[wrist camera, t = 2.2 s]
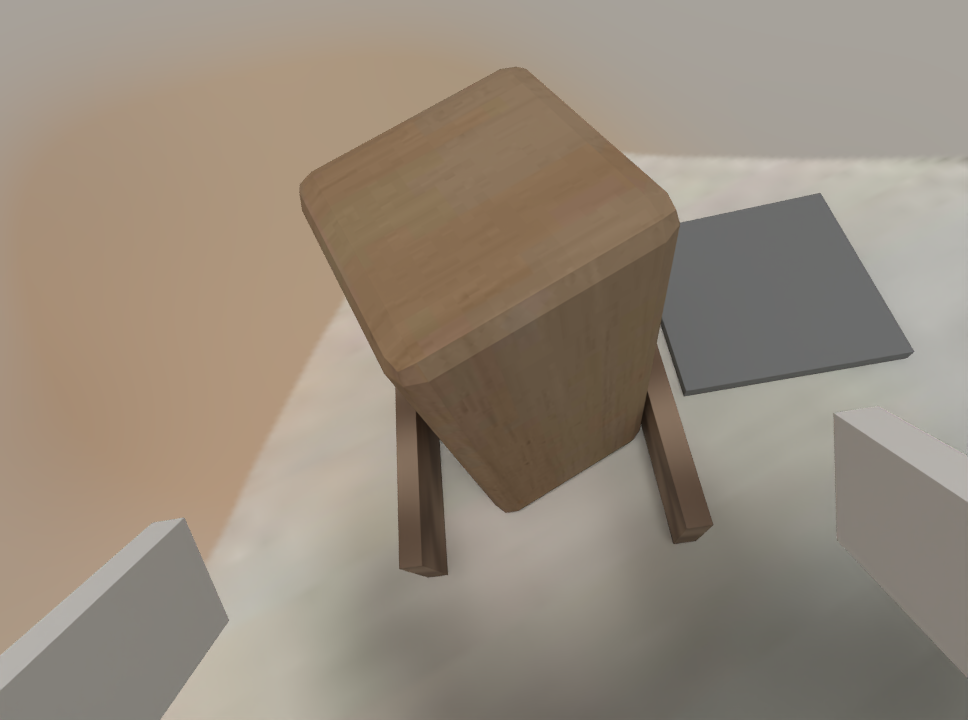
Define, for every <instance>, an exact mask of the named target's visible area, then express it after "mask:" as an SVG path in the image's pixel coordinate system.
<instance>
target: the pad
mask: <svg viewBox="0 0 968 720" xmlns="http://www.w3.org/2000/svg"><path fill="white" fill-rule="evenodd" d="M661 326H662V329H663V332H664V335H665V338H666V341H667V344H668V347H669V351H670V354H671V357H672V360H673V363H674V366H675V369H676V372H677V375H678V378H679V382H680V385H681V388H682V391H683V394H684V396H688V395H694V394H700V393H706V392H712V391H717V390H723V389H729V388H735V387H741V386H747V385H752V384H758V383H764V382H770V381H776V380H781V379H787V378H793V377H799V376H805V375H811V374H816V373H822V372H828V371H834V370H840V369H846V368H851V367H857V366H863V365H869V364H875V363H881V362H886V361H892V360H898V359H904V358H908V357H909V356H910V355H911V354H912V353H913V352H914V350H913V349H912V347H911V345H910V344H909V342H908V340H907V339H906V337H905V335H904V333H903V332H902V330H901V328H900V327H899V325H898V323H897V322H896V320H895V318H894V317H893V315H892V313H891V311H890V310H889V308H888V306H887V305H886V303H885V301H884V300H883V298H882V296H881V295H880V293H879V291H878V289H877V288H876V286H875V284H874V283H873V281H872V279H871V278H870V276H869V274H868V273H867V271H866V269H865V267H864V266H863V264H862V262H861V261H860V259H859V257H858V256H857V254H856V252H855V251H854V249H853V247H852V245H851V244H850V242H849V240H848V239H847V237H846V235H845V234H844V232H843V230H842V229H841V227H840V225H839V223H838V222H837V220H836V218H835V217H834V215H833V213H832V212H831V210H830V208H829V207H828V205H827V203H826V202H825V200H824V198H823V196H822V195H821V193H818V194H813V195H809V196H804V197H799V198H795V199H790V200H785V201H780V202H776V203H771V204H766V205H762V206H757V207H752V208H748V209H743V210H738V211H734V212H729V213H724V214H719V215H715V216H710V217H705V218H701V219H696V220H691V221H687V222H682V223H680V227H679V232H678V237H677V242H676V248H675V253H674V258H673V263H672V268H671V273H670V278H669V283H668V288H667V293H666V298H665V303H664V308H663V313H662V319H661Z"/></svg>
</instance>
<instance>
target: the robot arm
mask: <svg viewBox="0 0 968 720" xmlns="http://www.w3.org/2000/svg"><path fill="white" fill-rule="evenodd" d="M833 416H834V454H835V493H836V532H837V541H838V542H839V543H840V544H841V545H842V546H843V547H844V548H845V549H846V550H847V551H848V552H849V553H850V555H851V556H852V557H853V558H854V559H855V560H856V561H857V562H858V563H859V564H860V565H861V566H862V567H863V568H864V569H865V570H866V571H867V573H868V574H869V575H870V576H871V577H872V578H873V579H874V580H875V581H876V582H877V583H878V584H879V585H880V586H881V587H882V588H883V589H884V590H885V592H886V593H887V594H888V595H889V596H890V597H891V598H892V599H893V600H894V601H895V602H896V603H897V604H898V605H899V606H900V607H901V608H902V610H903V611H904V612H905V613H906V614H907V615H908V616H909V617H910V618H911V619H912V620H913V621H914V622H915V623H916V624H917V625H918V626H919V627H920V629H921V630H922V631H923V632H924V633H925V634H926V635H927V636H928V637H929V638H930V639H931V640H932V641H933V642H934V643H935V644H936V645H937V647H938V648H939V649H940V650H941V651H942V652H943V653H944V654H945V655H946V656H947V657H948V658H949V659H950V660H951V661H952V662H953V663H954V664H955V666H956V667H957V668H958V669H959V670H960V671H961V672H962V673H963V674H964V675H965V676H966V677H967V678H968V456H967V455H965V454H963V453H962V452H960V451H958V450H956V449H955V448H953V447H951V446H949V445H947V444H946V443H944V442H942V441H940V440H939V439H937V438H935V437H933V436H931V435H930V434H928V433H926V432H924V431H923V430H921V429H919V428H917V427H915V426H914V425H912V424H910V423H908V422H906V421H905V420H903V419H901V418H899V417H898V416H896V415H894V414H892V413H890V412H889V411H887V410H885V409H883V408H882V407H880V406H873V407H867V408H861V409H855V410H848V411H842V412H836V413H833ZM228 621H229V619H228V617H227V614H226V612H225V610H224V607H223V605H222V603H221V601H220V598H219V596H218V594H217V591H216V589H215V587H214V584H213V582H212V580H211V578H210V575H209V573H208V571H207V568H206V566H205V564H204V561H203V559H202V557H201V555H200V552H199V550H198V548H197V546H196V543H195V541H194V539H193V536H192V534H191V532H190V529H189V527H188V525H187V522H186V520H185V518H179V519H173V520H166V521H160V522H154V523H152V524H150V525H149V526H148V527H147V528H146V529H145V530H143V531H142V532H141V533H140V534H139V535H138V536H137V537H135V538H134V539H133V540H132V541H131V542H130V543H129V544H127V545H126V546H125V547H124V548H123V549H122V550H121V551H119V552H118V553H117V554H116V555H115V556H114V557H112V558H111V559H110V560H109V561H108V562H107V563H106V564H104V565H103V566H102V567H101V568H100V569H99V570H98V571H96V573H94V574H93V575H92V576H91V577H90V578H89V579H87V580H86V581H85V582H84V583H83V584H82V585H80V586H79V587H78V588H77V589H76V590H75V591H73V592H72V593H71V594H70V595H69V596H68V597H67V598H65V599H64V600H63V601H62V602H61V603H60V604H59V605H57V606H56V607H55V608H54V609H53V610H52V611H51V612H49V613H48V614H47V615H46V616H45V617H44V618H43V619H41V620H40V621H39V622H38V623H37V624H36V625H34V626H33V627H32V628H31V629H30V630H29V631H28V632H26V633H25V634H24V635H23V636H22V637H21V638H20V639H18V640H17V641H16V642H15V643H14V644H13V645H11V647H9V648H8V649H7V650H6V651H5V652H4V653H2V654H1V655H0V720H160V719H161V718H162V716H163V715H164V713H165V712H166V711H167V709H168V708H169V706H170V705H171V703H172V702H173V701H174V699H175V698H176V696H177V695H178V693H179V692H180V690H181V689H182V688H183V686H184V685H185V683H186V682H187V680H188V679H189V677H190V676H191V675H192V673H193V672H194V670H195V669H196V667H197V666H198V665H199V663H200V662H201V660H202V659H203V657H204V656H205V654H206V653H207V652H208V650H209V649H210V647H211V646H212V644H213V643H214V641H215V640H216V639H217V637H218V636H219V634H220V633H221V631H222V630H223V629H224V627H225V626H226V624H227V623H228Z"/></svg>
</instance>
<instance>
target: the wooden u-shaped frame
mask: <svg viewBox="0 0 968 720" xmlns="http://www.w3.org/2000/svg"><path fill="white" fill-rule="evenodd" d="M395 391H396V438H397V484H398V530H399V569H401V570H405V571H408V572H412V573H415V574H418V575H422V576H425V577H435V576H442V575H448V569H447V554H446V538H445V522H444V507H443V491H442V476H441V460H440V445H439V438H438V436H437V435H436V434H435V433H434V432H433V430H432V429H431V428H430V427H429V426H428V425H427V423H426V422H425V421H424V420H423V419H422V417H421V416H420V415H419V414H418V413H417V412H416V410H415V409H414V408H413V407H412V406H411V404H410V403H409V402H408V401H407V400H406V399H405V397H404V396H403V395H402V394H401V393H400V391H399V390H398V389H397V388H396V387H395ZM641 425H642V429H643V432H644V436H645V440H646V443H647V447H648V451H649V454H650V458H651V462H652V466H653V469H654V473H655V477H656V480H657V484H658V488H659V491H660V495H661V499H662V503H663V506H664V510H665V514H666V517H667V521H668V525H669V528H670V532H671V536H672V540H673V543H674V544H677V543H684V542H691V541H696V540H697V539H698V538H700V537H701V536H702V535H703V534H704V533H705V532H706V531H707V530H708V529H709V528H711V527H712V526H713V522H712V519H711V516H710V513H709V510H708V506H707V503H706V500H705V497H704V494H703V490H702V487H701V484H700V481H699V478H698V474H697V471H696V468H695V465H694V462H693V458H692V455H691V452H690V449H689V445H688V442H687V439H686V436H685V433H684V429H683V426H682V423H681V420H680V417H679V413H678V410H677V407H676V404H675V401H674V397H673V394H672V391H671V388H670V385H669V381H668V378H667V375H666V372H665V368H664V365H663V362H662V359H661V356H660V352H659V349H658V346H657V344H656V349H655V354H654V359H653V364H652V369H651V374H650V379H649V384H648V390H647V395H646V400H645V405H644V410H643V415H642V420H641Z"/></svg>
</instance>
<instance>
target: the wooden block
mask: <svg viewBox="0 0 968 720" xmlns="http://www.w3.org/2000/svg"><path fill="white" fill-rule="evenodd" d="M299 193H300V199H301V205H302V211H303V213H304V215H305V217H306V219H307V221H308V223H309V225H310V227H311V229H312V231H313V233H314V235H315V237H316V239H317V241H318V243H319V245H320V247H321V249H322V251H323V253H324V255H325V257H326V259H327V261H328V263H329V265H330V267H331V269H332V270H333V273H334V275H335V277H336V279H337V281H338V283H339V285H340V287H341V289H342V291H343V293H344V295H345V297H346V299H347V301H348V303H349V305H350V307H351V309H352V311H353V312H354V314H355V316H356V318H357V320H358V322H359V324H360V326H361V328H362V330H363V332H364V334H365V336H366V338H367V340H368V342H369V344H370V346H371V348H372V350H373V352H374V354H375V356H376V358H377V360H378V362H379V364H380V366H381V368H382V370H383V372H384V374H385V375H386V376H387V377H388V379H389V380H390V381H391V382H392V383H393V384H394V386H395V387H396V388H397V389H398V390H399V391H400V393H401V394H402V395H403V396H404V397H405V399H406V400H407V401H408V402H409V403H410V404H411V406H412V407H413V408H414V409H415V410H416V412H417V413H418V414H419V415H420V416H421V417H422V419H423V420H424V421H425V422H426V423H427V425H428V426H429V427H430V428H431V429H432V430H433V432H434V433H435V434H436V435H437V436H438V438H439V439H440V440H441V441H442V442H443V443H444V445H445V446H446V447H447V448H448V449H449V450H450V452H451V453H452V454H453V455H454V456H455V458H456V459H457V460H458V461H459V462H460V463H461V465H462V466H463V467H464V468H465V469H466V471H467V472H468V473H469V474H470V475H471V476H472V478H473V479H474V480H475V481H476V482H477V484H478V485H479V486H480V487H481V488H482V489H483V491H484V492H485V493H486V494H487V495H488V497H489V498H490V499H491V500H492V501H493V502H494V504H495V505H496V506H498V507H499V508H500V509H502V510H503V511H504V512H505V513H506V512H512V511H518V510H520V509H522V508H523V507H525V506H527V505H528V504H530V503H531V502H533V501H535V500H536V499H538V498H540V497H541V496H543V495H544V494H546V493H548V492H549V491H551V490H553V489H554V488H556V487H557V486H559V485H561V484H562V483H564V482H565V481H567V480H569V479H570V478H572V477H574V476H575V475H577V474H578V473H580V472H582V471H583V470H585V469H587V468H588V467H590V466H591V465H593V464H595V463H596V462H598V461H600V460H601V459H603V458H604V457H606V456H608V455H609V454H611V453H612V452H614V451H616V450H617V449H619V448H621V447H622V446H624V445H625V444H627V443H629V442H630V441H632V440H633V439H634V437H635V436H636V434H637V433H638V432H639V430H640V425H641V420H642V415H643V410H644V405H645V400H646V395H647V390H648V384H649V379H650V374H651V369H652V364H653V359H654V354H655V349H656V344H657V339H658V334H659V329H660V324H661V319H662V313H663V308H664V303H665V298H666V293H667V288H668V283H669V278H670V273H671V268H672V263H673V258H674V253H675V248H676V242H677V237H678V232H679V227H680V222H679V219H678V215H677V211H676V209H675V207H674V205H673V203H672V201H671V199H670V197H669V195H668V193H667V192H666V191H665V190H663V189H662V188H661V187H660V186H659V185H658V184H657V183H656V182H654V181H653V180H652V179H651V178H650V177H649V176H648V175H646V174H645V173H644V172H643V171H642V170H641V169H640V168H638V167H637V166H636V165H635V164H634V163H633V162H632V161H630V160H629V159H628V158H627V157H626V156H625V155H624V154H622V153H621V152H620V151H619V150H618V149H617V148H616V147H614V146H613V145H612V144H611V143H610V142H609V141H607V140H606V139H605V138H604V137H603V136H602V135H601V134H600V133H599V132H597V131H596V130H595V129H594V128H593V127H592V126H590V125H589V124H588V123H587V122H586V121H585V120H584V119H583V118H581V117H580V116H579V115H578V114H577V113H576V112H575V111H574V110H572V109H571V108H570V107H569V106H568V105H567V104H565V103H564V102H563V101H562V100H561V99H560V98H559V97H558V96H556V95H555V94H554V93H553V92H552V91H551V90H550V89H548V88H547V87H546V86H545V85H544V84H543V83H542V82H540V81H539V80H538V79H537V78H536V77H535V76H534V75H532V74H531V73H530V72H529V71H528V70H527V69H524V68H519V67H512V68H505V69H500V70H498V71H496V72H494V73H492V74H491V75H489V76H487V77H485V78H483V79H481V80H480V81H478V82H476V83H474V84H472V85H470V86H468V87H467V88H465V89H463V90H461V91H459V92H458V93H456V94H454V95H452V96H450V97H448V98H447V99H445V100H443V101H441V102H439V103H437V104H435V105H434V106H432V107H430V108H428V109H426V110H424V111H422V112H421V113H419V114H417V115H415V116H413V117H412V118H410V119H408V120H406V121H404V122H402V123H400V124H399V125H397V126H395V127H393V128H391V129H389V130H388V131H386V132H384V133H382V134H380V135H378V136H377V137H375V138H373V139H371V140H369V141H367V142H365V143H364V144H362V145H360V146H358V147H356V148H355V149H353V150H351V151H349V152H347V153H345V154H344V155H342V156H340V157H338V158H336V159H334V160H332V161H331V162H329V163H327V164H325V165H323V166H321V167H320V168H318V169H316V170H314V171H313V172H311V173H310V174H309V175H308V176H307V177H306V178H305V179H304V180H303V182H302V183H301V184H300V192H299Z"/></svg>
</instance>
